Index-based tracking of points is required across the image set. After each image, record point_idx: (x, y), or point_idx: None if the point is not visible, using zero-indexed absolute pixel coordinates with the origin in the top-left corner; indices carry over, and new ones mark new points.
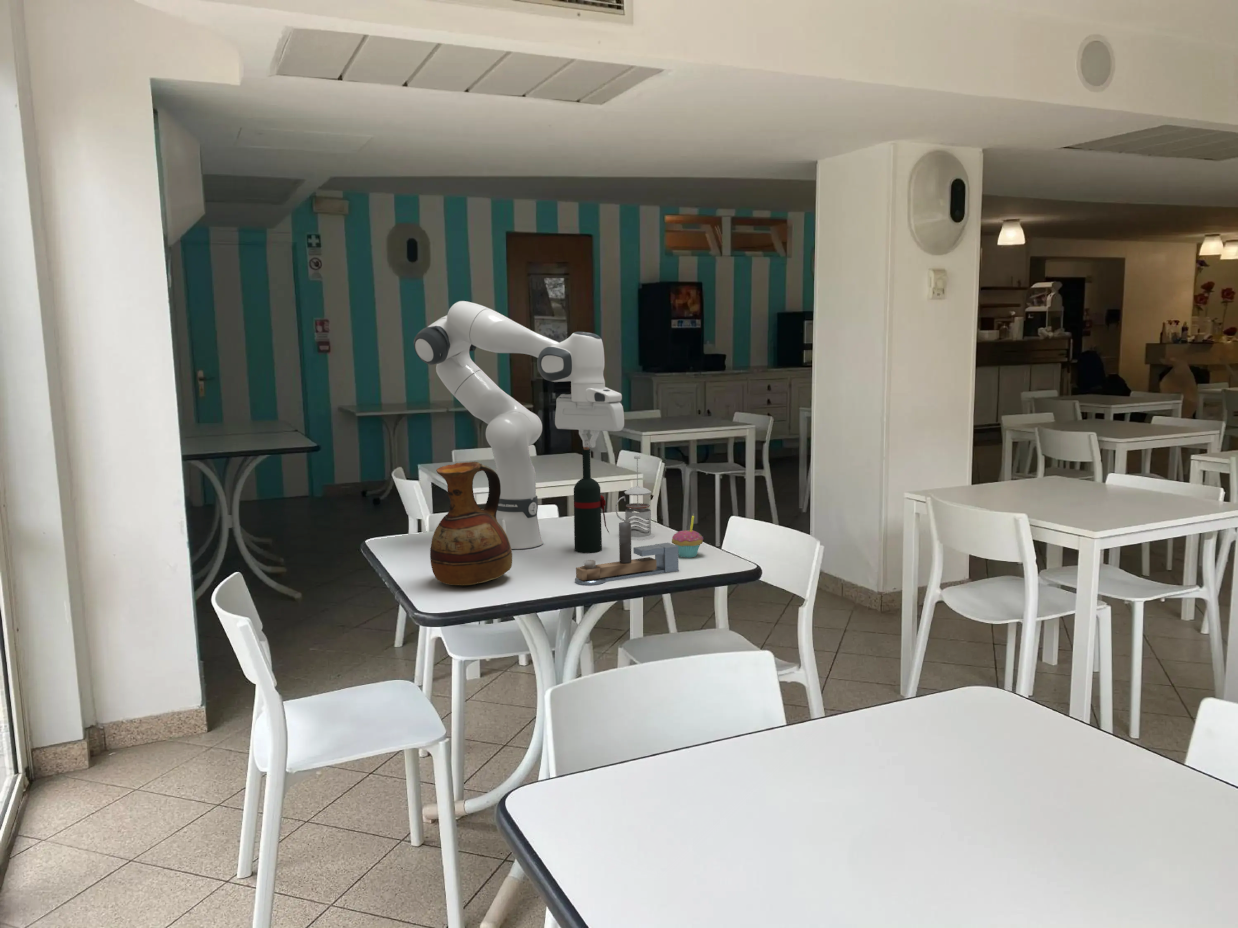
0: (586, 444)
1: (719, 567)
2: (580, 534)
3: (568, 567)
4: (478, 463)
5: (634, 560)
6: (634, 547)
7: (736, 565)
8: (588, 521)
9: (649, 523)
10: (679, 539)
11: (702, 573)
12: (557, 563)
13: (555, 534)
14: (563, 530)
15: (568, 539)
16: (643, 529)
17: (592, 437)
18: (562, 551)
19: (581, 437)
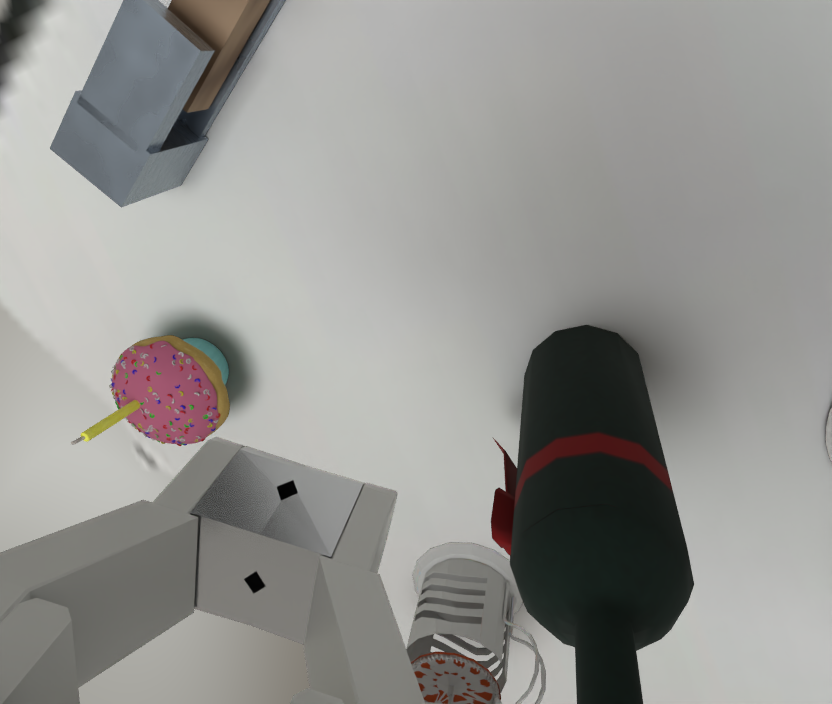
0: (307, 490)
1: (34, 228)
2: (605, 364)
3: (566, 43)
4: None
5: (210, 20)
6: (195, 51)
7: (6, 270)
8: (564, 398)
9: (414, 616)
10: (166, 349)
11: (33, 123)
12: (646, 106)
13: (806, 596)
14: (787, 653)
15: (724, 528)
16: (430, 583)
17: (72, 539)
18: (691, 334)
19: (379, 627)
